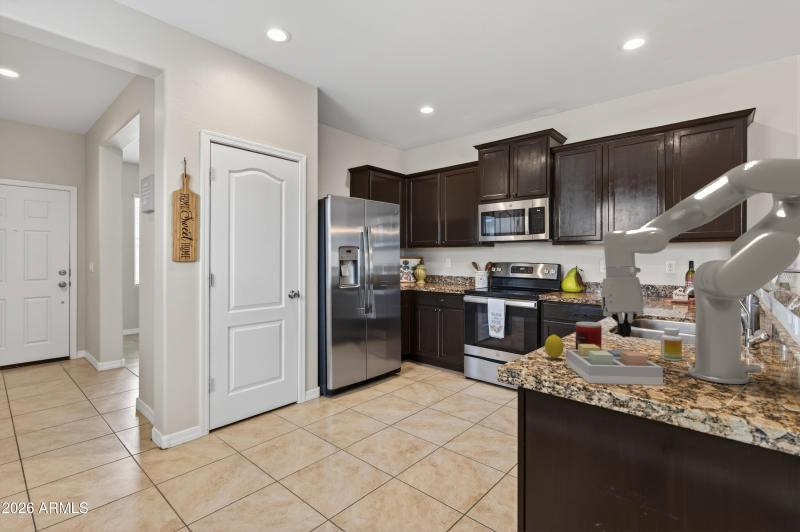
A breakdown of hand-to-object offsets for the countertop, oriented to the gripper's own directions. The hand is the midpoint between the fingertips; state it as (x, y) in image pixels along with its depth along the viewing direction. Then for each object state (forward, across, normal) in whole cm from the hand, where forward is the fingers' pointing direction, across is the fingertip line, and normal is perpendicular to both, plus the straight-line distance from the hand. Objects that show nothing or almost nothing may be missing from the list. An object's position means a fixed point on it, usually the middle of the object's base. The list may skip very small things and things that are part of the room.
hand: (624, 336), depth 110 cm
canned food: (+10, +5, -15) cm, 19 cm away
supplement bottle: (+11, -20, -14) cm, 27 cm away
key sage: (+6, +10, +8) cm, 14 cm away
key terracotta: (+6, +2, +8) cm, 10 cm away
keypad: (+10, +6, +4) cm, 12 cm away
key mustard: (+6, +10, 0) cm, 12 cm away
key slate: (+8, +2, 0) cm, 8 cm away
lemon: (+9, +17, -11) cm, 22 cm away
